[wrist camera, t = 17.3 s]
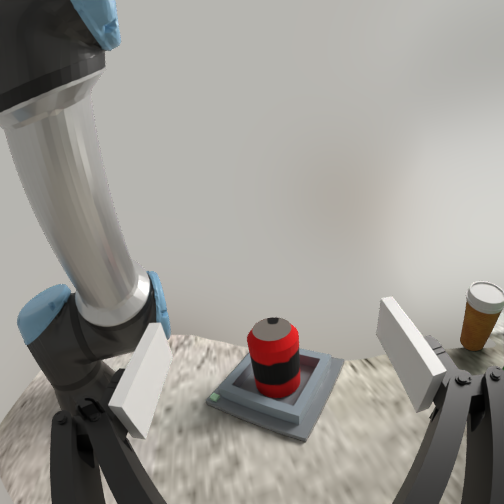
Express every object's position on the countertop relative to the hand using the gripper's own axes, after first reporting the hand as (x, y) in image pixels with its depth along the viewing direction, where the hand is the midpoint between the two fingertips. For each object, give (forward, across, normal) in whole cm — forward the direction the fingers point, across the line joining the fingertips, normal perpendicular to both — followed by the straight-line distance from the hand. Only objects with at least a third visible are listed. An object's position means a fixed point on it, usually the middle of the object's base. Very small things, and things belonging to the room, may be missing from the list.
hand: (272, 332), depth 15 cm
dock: (+20, 0, -27) cm, 34 cm away
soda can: (+19, 0, -27) cm, 33 cm away
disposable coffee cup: (+19, +41, -27) cm, 53 cm away
